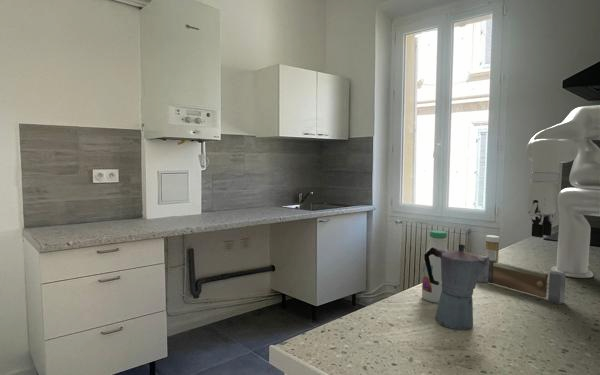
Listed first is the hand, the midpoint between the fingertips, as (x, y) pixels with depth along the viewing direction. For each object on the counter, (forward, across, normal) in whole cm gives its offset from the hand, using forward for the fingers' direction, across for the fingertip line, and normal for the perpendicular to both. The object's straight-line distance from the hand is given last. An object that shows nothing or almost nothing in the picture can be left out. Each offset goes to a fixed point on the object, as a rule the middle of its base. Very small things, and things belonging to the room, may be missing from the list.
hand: (541, 235), depth 125 cm
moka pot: (+18, +47, +1) cm, 50 cm away
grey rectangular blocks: (+17, +8, -3) cm, 19 cm away
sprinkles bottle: (+18, -6, -19) cm, 27 cm away
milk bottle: (+18, +36, -12) cm, 42 cm away
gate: (+17, +8, -3) cm, 19 cm away
